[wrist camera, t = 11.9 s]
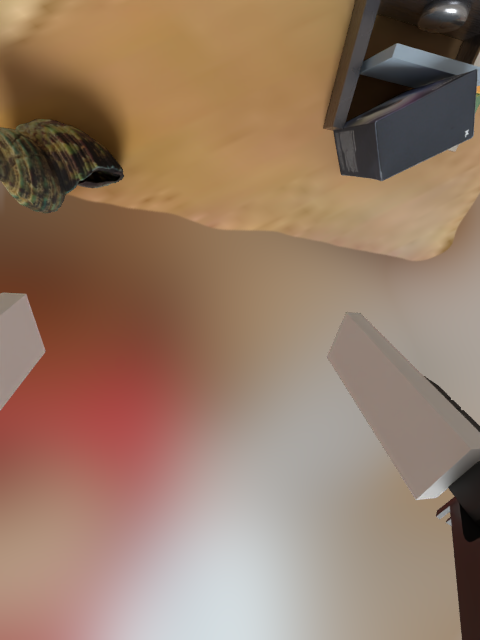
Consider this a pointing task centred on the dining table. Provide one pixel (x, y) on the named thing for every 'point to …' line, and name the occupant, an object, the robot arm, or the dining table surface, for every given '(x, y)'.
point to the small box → (408, 128)
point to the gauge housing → (413, 8)
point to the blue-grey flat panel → (413, 67)
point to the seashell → (52, 163)
